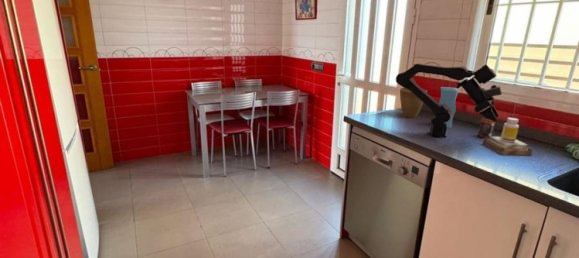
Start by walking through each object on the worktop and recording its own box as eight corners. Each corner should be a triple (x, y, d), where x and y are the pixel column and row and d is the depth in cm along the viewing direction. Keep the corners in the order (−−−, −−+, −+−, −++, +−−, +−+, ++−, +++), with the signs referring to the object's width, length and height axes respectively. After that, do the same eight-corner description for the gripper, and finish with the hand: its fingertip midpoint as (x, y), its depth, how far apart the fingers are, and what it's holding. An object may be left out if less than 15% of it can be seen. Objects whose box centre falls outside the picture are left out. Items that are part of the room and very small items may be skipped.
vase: (434, 122, 177) (440, 86, 171) (449, 123, 175) (456, 88, 169) (436, 126, 170) (442, 89, 164) (452, 127, 168) (459, 90, 161)
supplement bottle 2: (517, 142, 135) (523, 120, 132) (504, 142, 136) (510, 120, 133) (510, 138, 140) (515, 117, 138) (497, 138, 141) (502, 116, 138)
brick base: (500, 154, 133) (503, 145, 132) (482, 143, 145) (484, 135, 144) (531, 155, 133) (533, 146, 132) (510, 144, 146) (512, 136, 144)
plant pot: (426, 116, 189) (430, 89, 185) (418, 121, 178) (422, 93, 173) (401, 111, 198) (405, 86, 193) (392, 116, 187) (396, 89, 182)
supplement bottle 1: (493, 139, 152) (499, 116, 149) (480, 137, 153) (485, 115, 150) (489, 135, 158) (494, 113, 154) (476, 134, 159) (480, 112, 155)
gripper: (489, 81, 129) (515, 113, 126) (493, 77, 143) (516, 104, 141) (464, 97, 136) (488, 127, 133) (470, 91, 150) (491, 118, 148)
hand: (496, 119), depth 139 cm, fingers open, 9 cm apart
